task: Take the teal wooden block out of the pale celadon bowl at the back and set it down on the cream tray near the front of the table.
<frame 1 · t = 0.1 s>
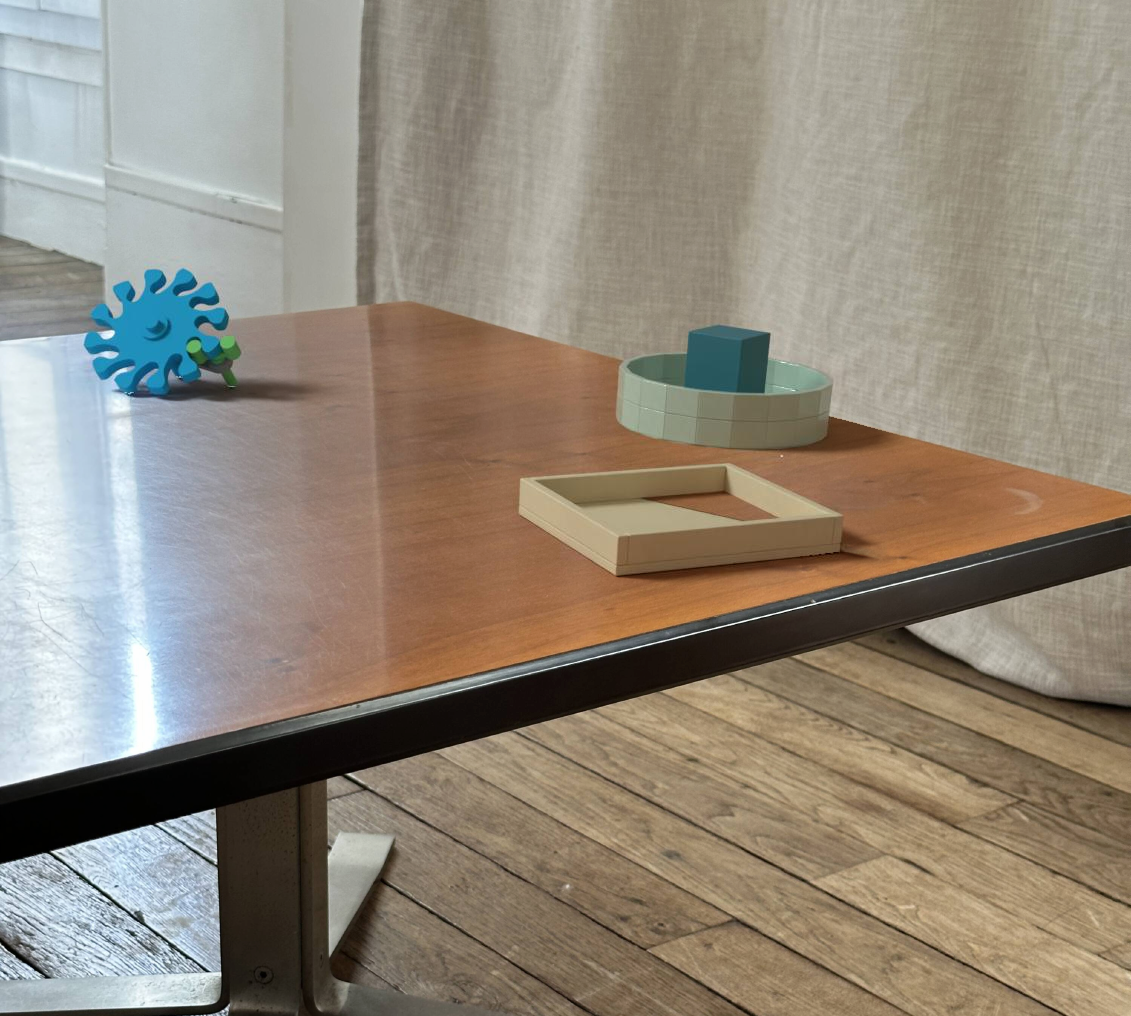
bowl: (720, 432, 107), on the table
block: (721, 423, 107), point 1 cm above the table, touching bowl
gear: (166, 390, 111), on the table
tray: (675, 533, 85), on the table
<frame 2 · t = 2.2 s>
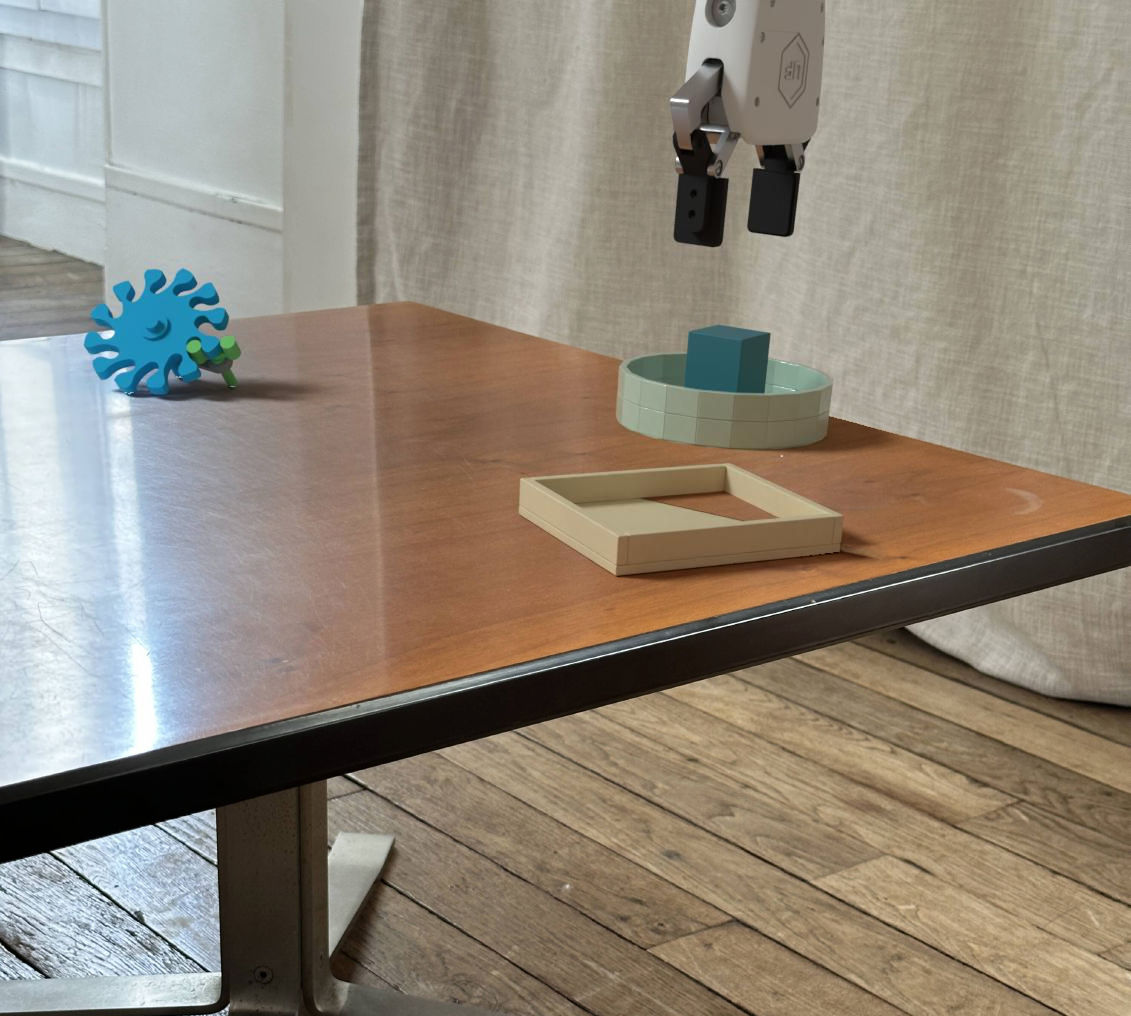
hand: (734, 239, 102), 12 cm above the table, tool pointing down, fingers open, 9 cm apart
nothing on the table moved.
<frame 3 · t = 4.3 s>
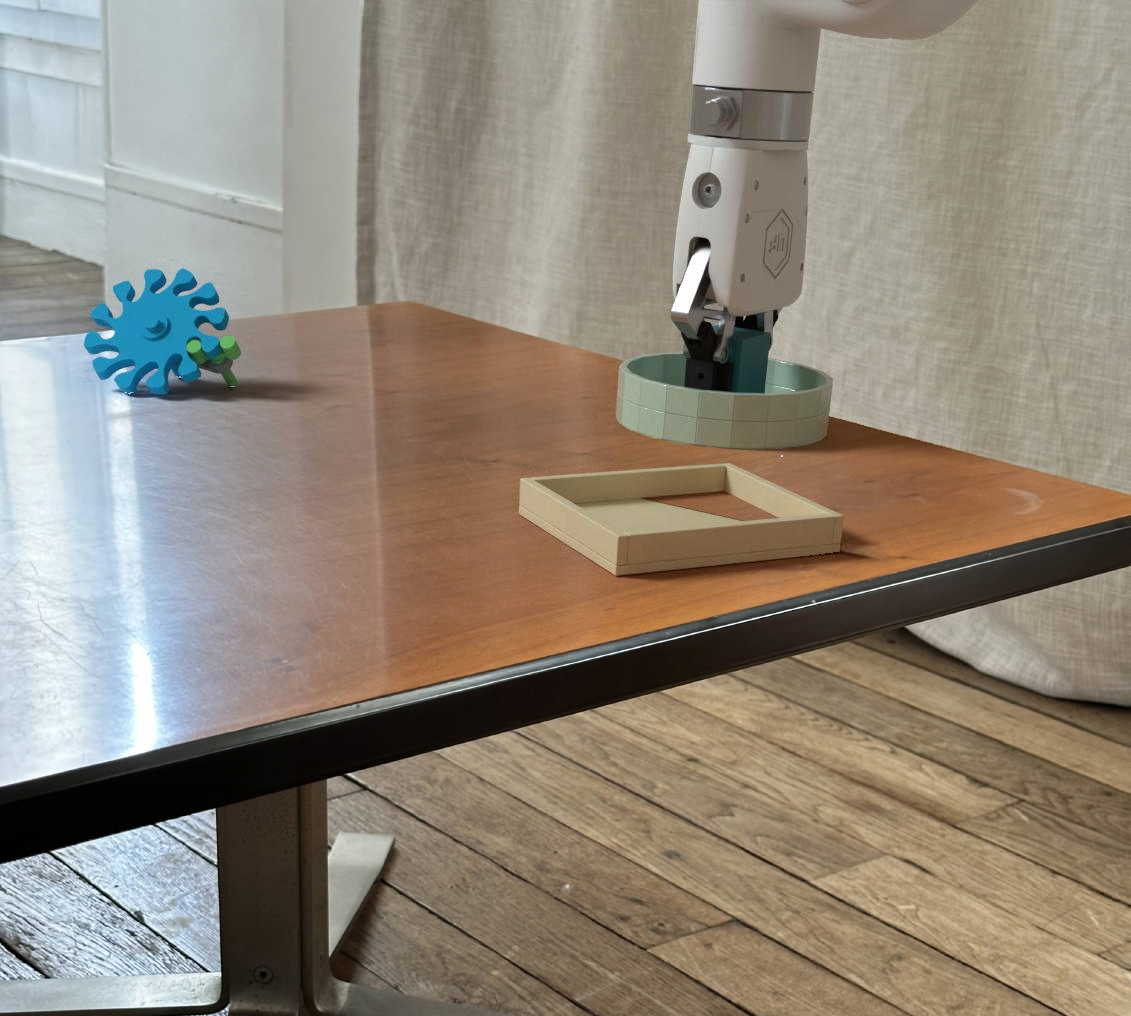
hand: (722, 412, 107), 1 cm above the table, tool pointing down, fingers closed on block, 4 cm apart
block: (721, 423, 107), point 1 cm above the table, touching bowl, gripper
everything else where it was.
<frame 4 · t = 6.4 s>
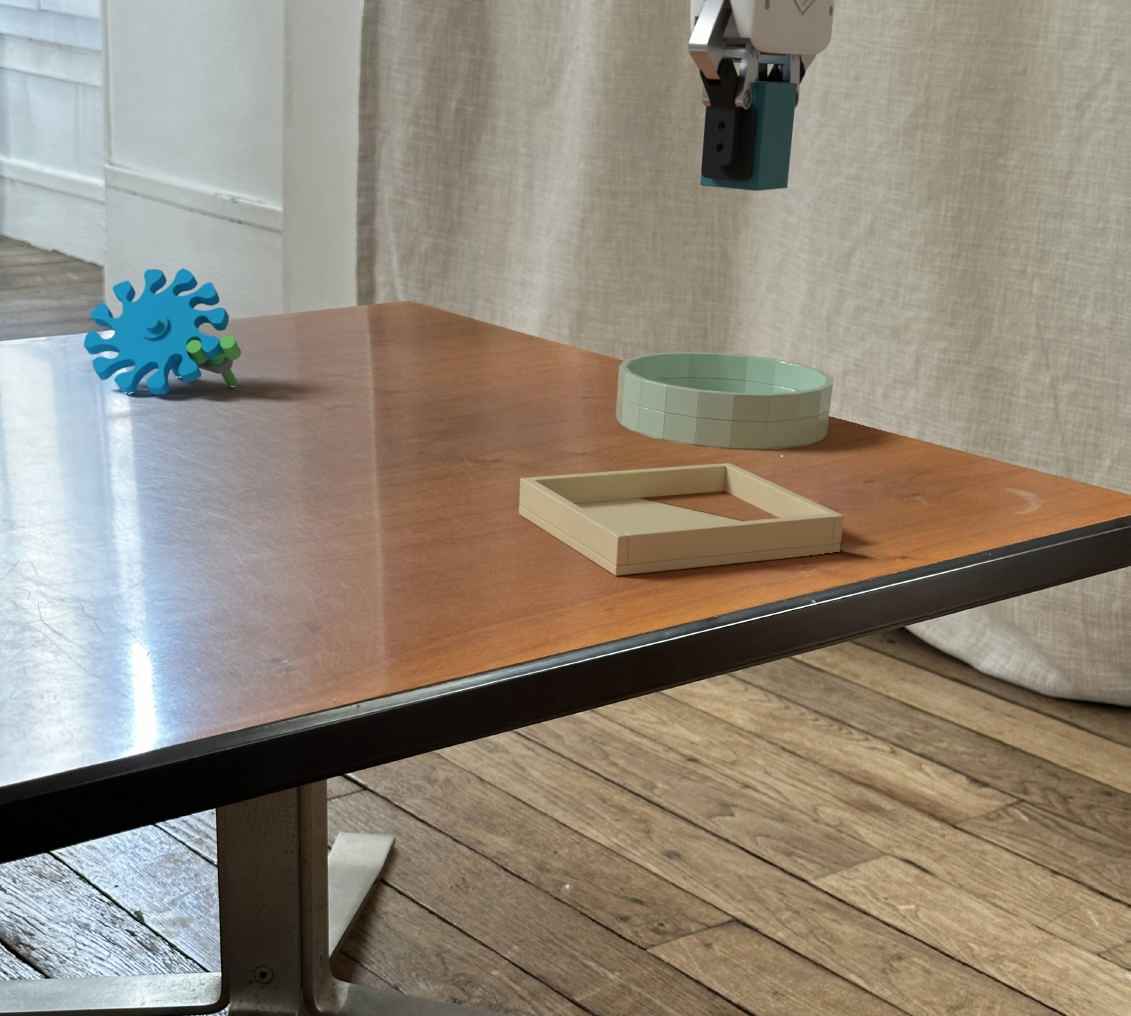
hand: (745, 174, 98), 16 cm above the table, tool pointing down, fingers closed on block, 4 cm apart
block: (743, 186, 99), point 16 cm above the table, touching gripper
everything else where it was.
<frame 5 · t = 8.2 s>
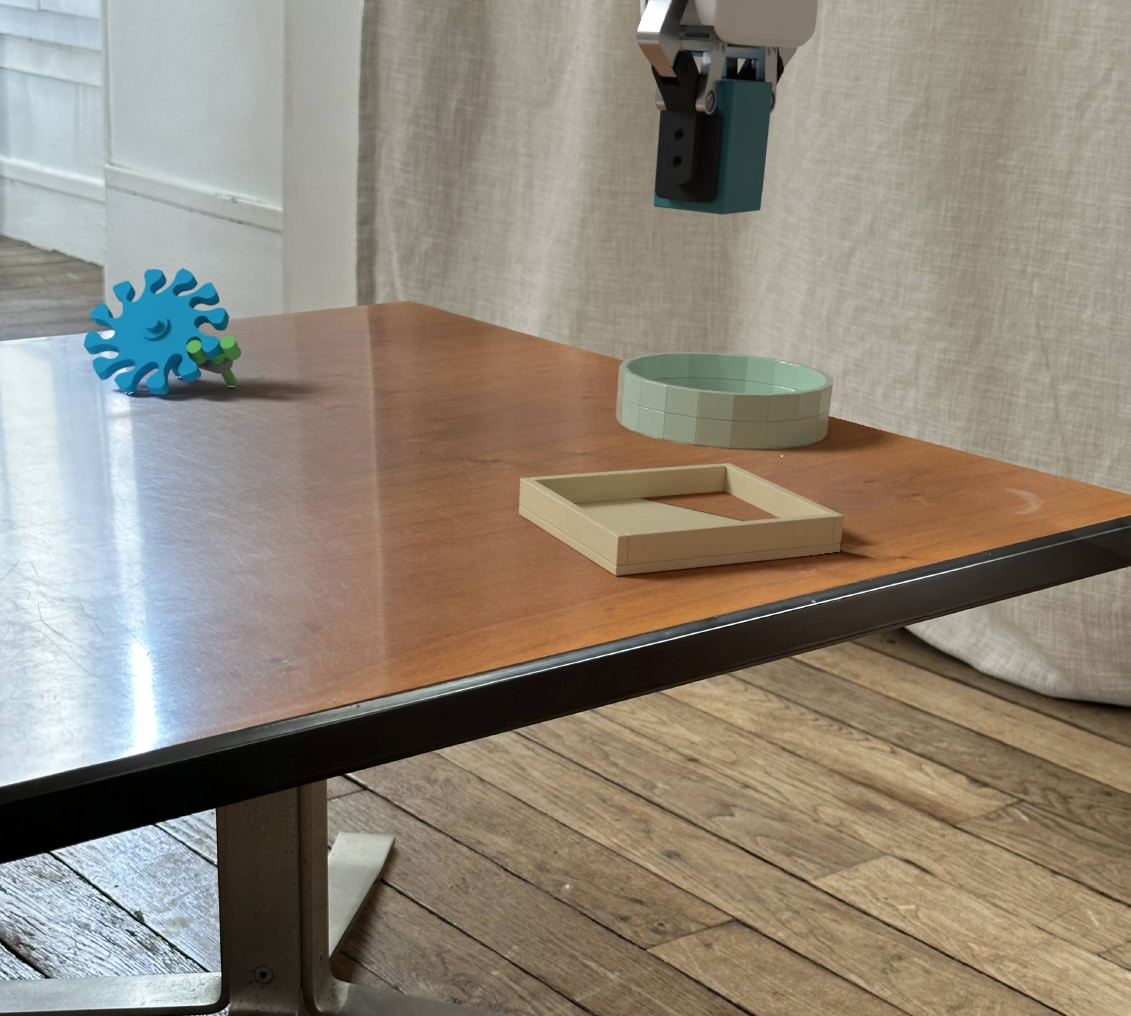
hand: (709, 193, 80), 17 cm above the table, tool pointing down, fingers closed on block, 4 cm apart
block: (707, 208, 80), point 16 cm above the table, touching gripper
everything else where it was.
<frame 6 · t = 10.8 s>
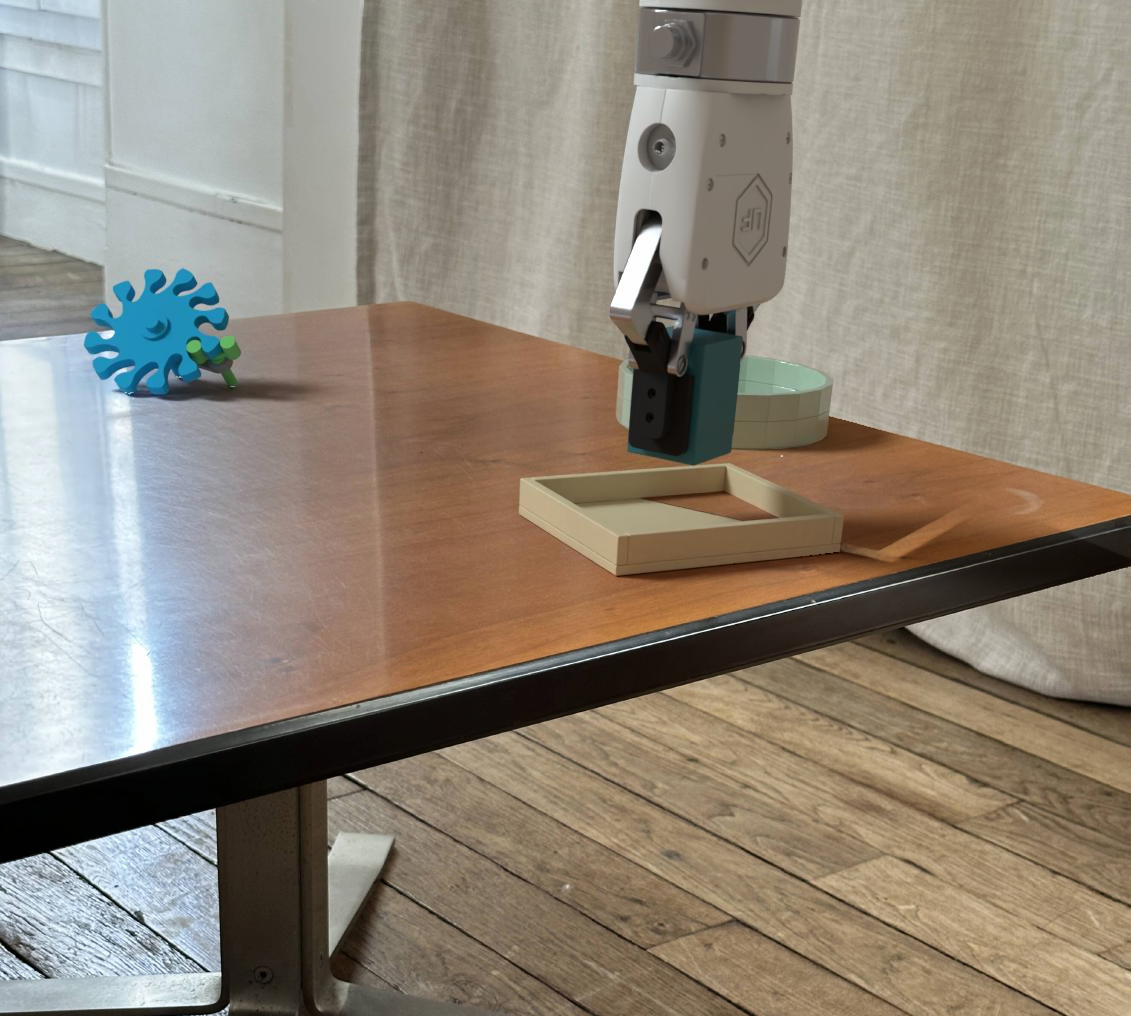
hand: (681, 439, 83), 5 cm above the table, tool pointing down, fingers closed on block, 4 cm apart
block: (679, 452, 83), point 4 cm above the table, touching gripper
everything else where it was.
when the fingers open (1 cm above the table, at t = 12.2 s): block stays where it is, resting on tray.
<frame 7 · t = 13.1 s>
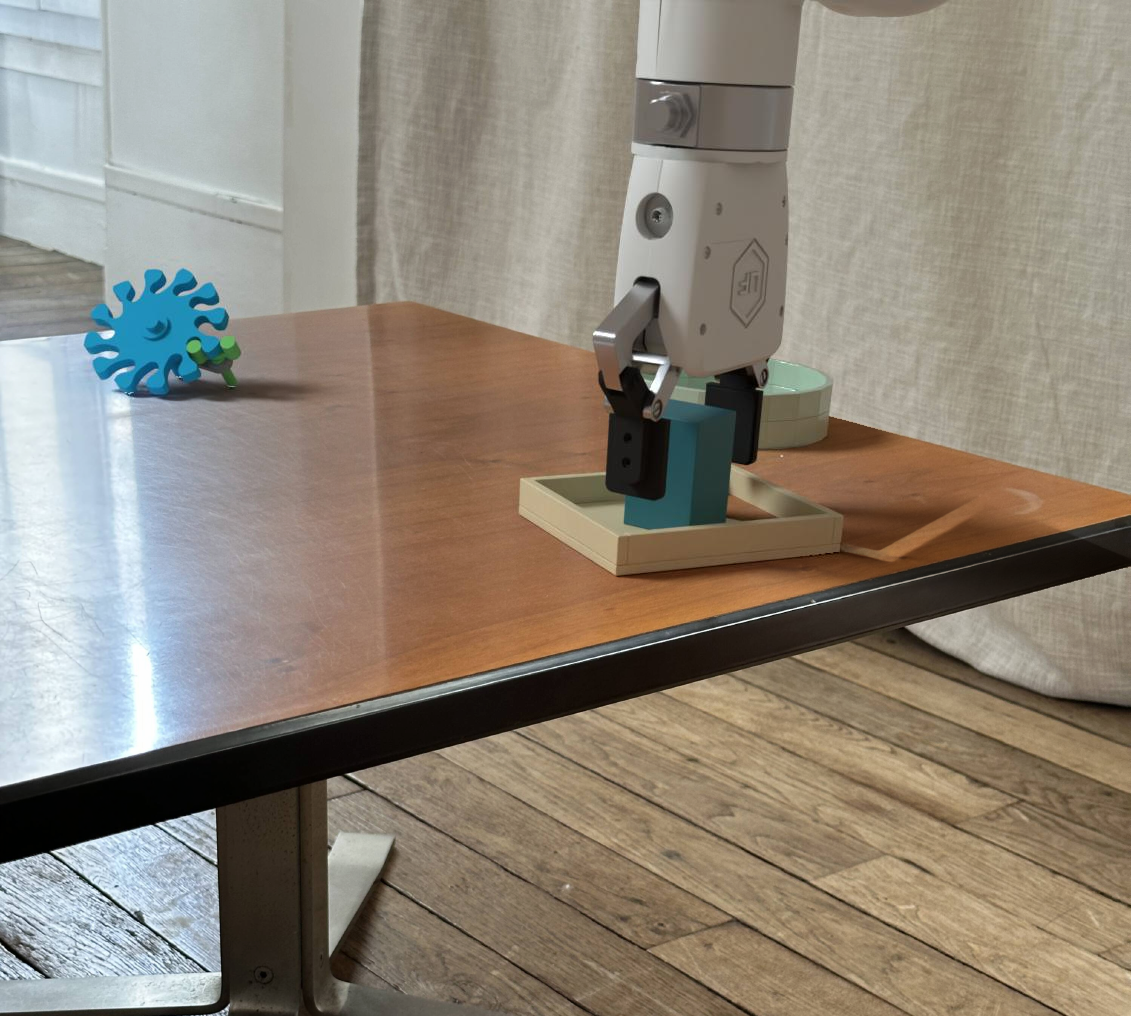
hand: (683, 476, 83), 3 cm above the table, tool pointing down, fingers open, 9 cm apart
block: (674, 523, 84), resting on tray
everything else where it was.
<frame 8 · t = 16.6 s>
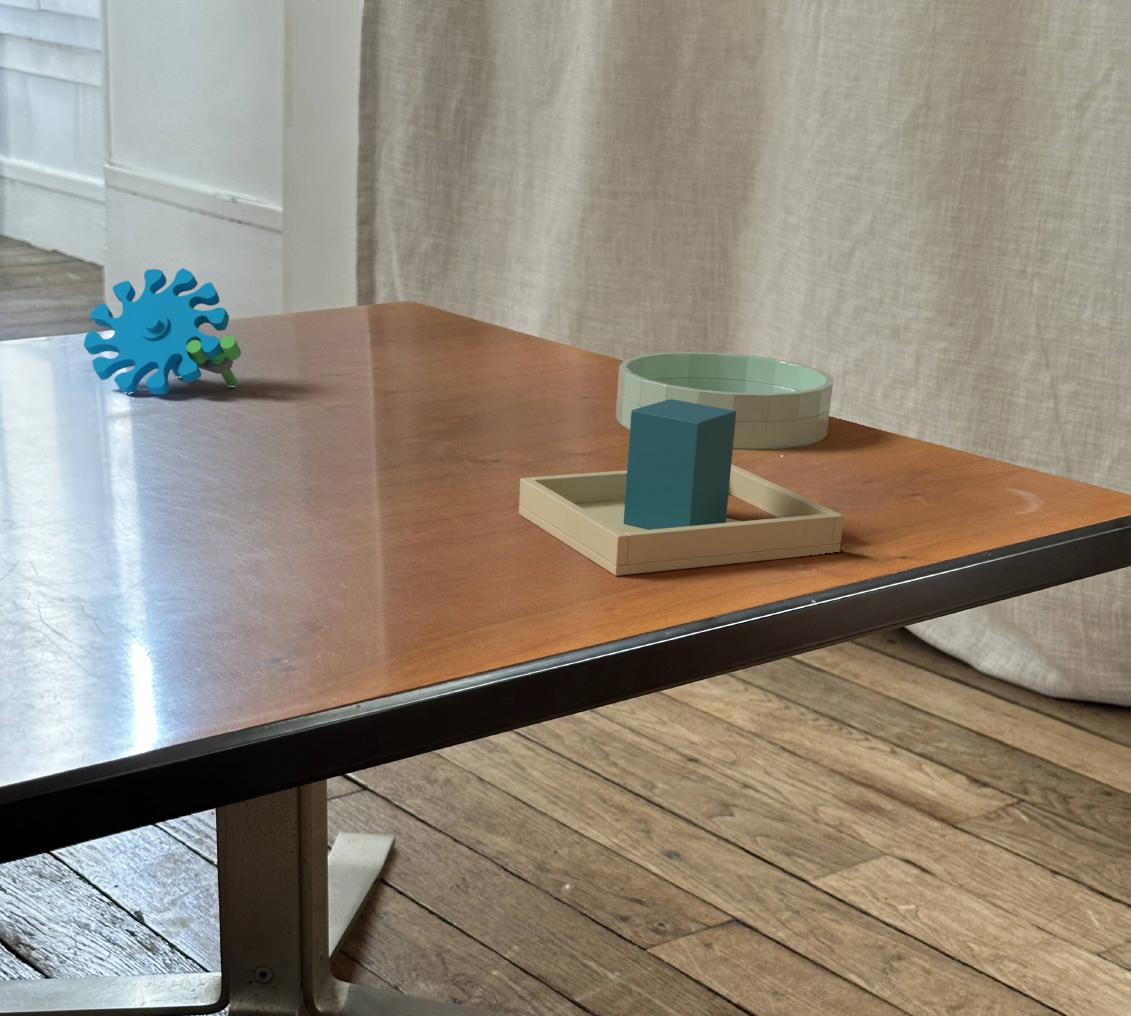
nothing on the table moved.
at the end: block inside the target area in the tray (0.1 cm from its centre), point 0.5 cm above the tray's base; block tilted 0°; the gripper is holding nothing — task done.
